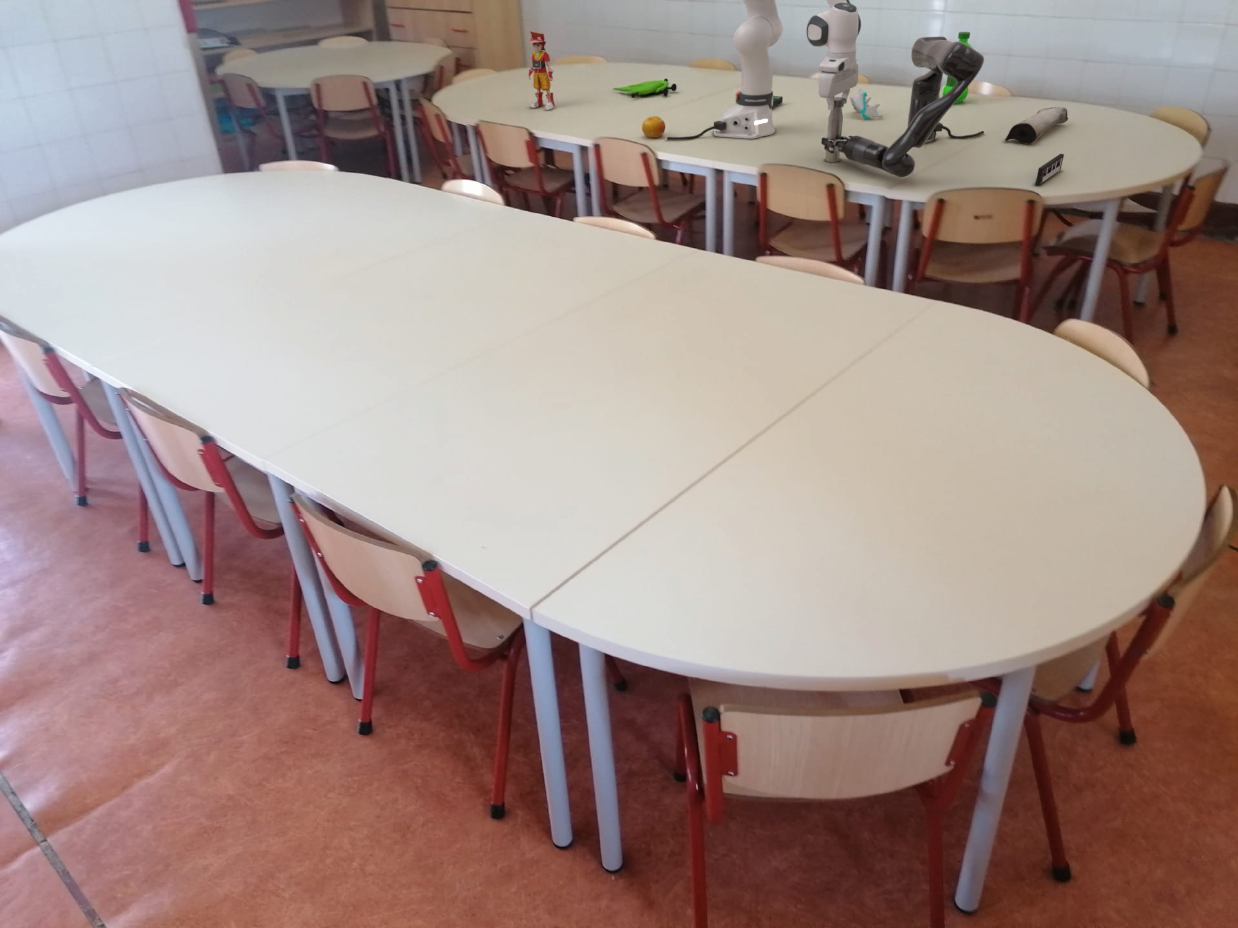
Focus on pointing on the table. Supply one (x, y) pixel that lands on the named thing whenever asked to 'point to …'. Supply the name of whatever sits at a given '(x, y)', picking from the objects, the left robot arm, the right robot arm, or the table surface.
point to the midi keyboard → (1049, 169)
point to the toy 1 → (541, 71)
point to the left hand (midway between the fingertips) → (837, 106)
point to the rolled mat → (1037, 125)
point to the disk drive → (777, 101)
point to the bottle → (834, 132)
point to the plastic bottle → (951, 82)
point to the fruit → (653, 127)
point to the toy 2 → (648, 88)
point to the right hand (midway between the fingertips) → (828, 139)
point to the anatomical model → (864, 105)
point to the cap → (838, 102)
